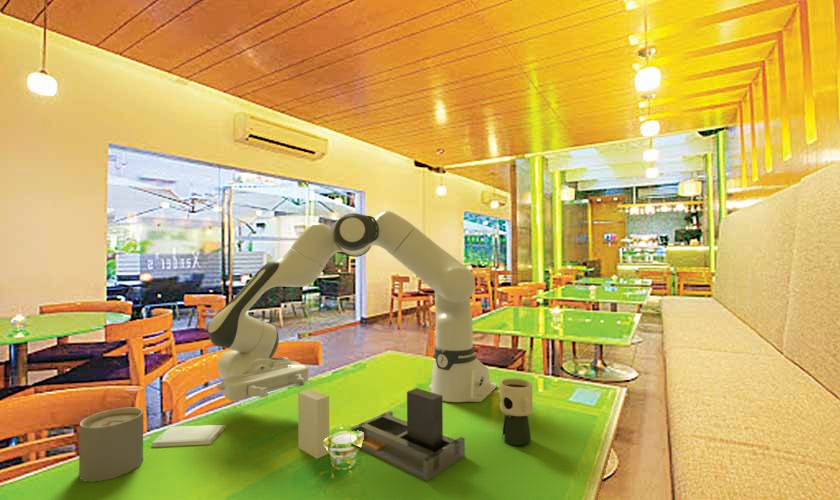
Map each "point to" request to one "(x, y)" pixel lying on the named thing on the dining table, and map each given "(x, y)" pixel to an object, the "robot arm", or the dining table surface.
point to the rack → (413, 437)
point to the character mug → (516, 409)
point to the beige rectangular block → (313, 422)
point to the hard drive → (188, 435)
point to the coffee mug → (110, 443)
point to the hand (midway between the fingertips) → (284, 388)
